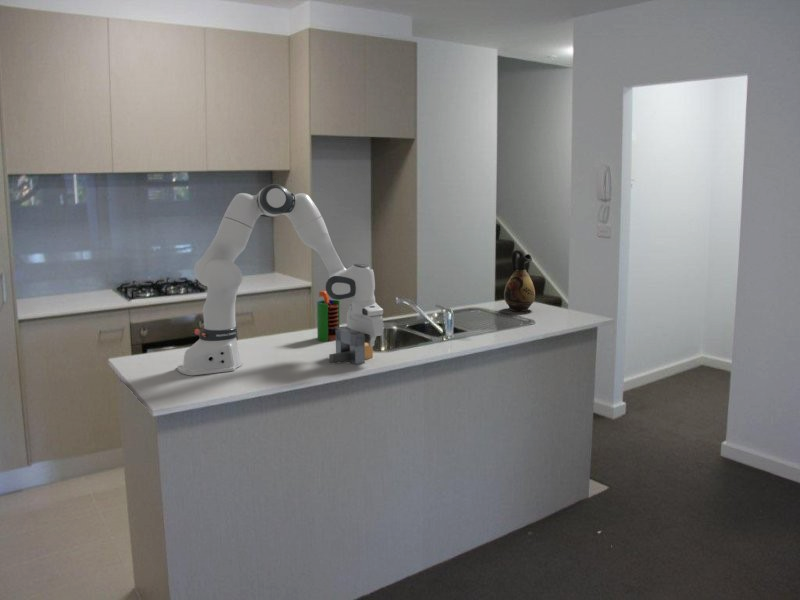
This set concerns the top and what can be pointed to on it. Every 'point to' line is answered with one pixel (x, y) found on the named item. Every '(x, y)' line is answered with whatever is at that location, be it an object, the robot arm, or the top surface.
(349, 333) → the grey u-shaped block
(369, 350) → the plug
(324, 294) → the motor
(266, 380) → the top surface
